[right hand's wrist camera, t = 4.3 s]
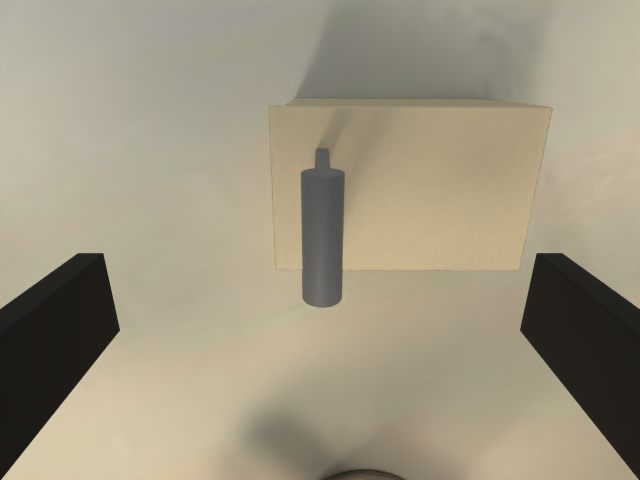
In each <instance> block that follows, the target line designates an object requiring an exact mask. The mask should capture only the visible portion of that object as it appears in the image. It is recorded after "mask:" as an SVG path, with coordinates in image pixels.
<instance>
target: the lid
mask: <svg viewBox="0 0 640 480" xmlns="http://www.w3.org/2000/svg"><path fill="white" fill-rule="evenodd" d="M551 113H552V108H551V107H544V106H270V107H269V125H270V149H271V172H272V196H273V219H274V243H275V266H276V270H302V288H303V300H304V301H305V302H306V303H307V304H309V305H311V306H315V307H330V306H334V305H336V304H338V303H339V302H340V301H341V299H342V270H508V271H518V270H519V269H520V264H521V259H522V254H523V249H524V244H525V239H526V235H527V230H528V225H529V220H530V215H531V210H532V205H533V201H534V196H535V191H536V186H537V181H538V176H539V171H540V167H541V162H542V157H543V152H544V147H545V142H546V137H547V133H548V128H549V123H550V118H551Z"/></svg>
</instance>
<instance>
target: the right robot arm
mask: <svg viewBox="0 0 640 480" xmlns="http://www.w3.org/2000/svg"><path fill="white" fill-rule="evenodd" d="M119 331H120V328H119V323H118V319H117V314H116V310H115V305H114V300H113V296H112V291H111V287H110V282H109V278H108V273H107V268H106V264H105V259H104V255H103V253H78V254H76V255H75V256H73V257H72V258H71V259H69V260H68V261H67V262H65V263H64V264H62V265H61V266H60V267H58V268H57V269H55V270H54V271H53V272H51V273H50V274H49V275H47V276H46V277H44V278H43V279H42V280H40V281H39V282H37V283H36V284H35V285H33V286H32V287H30V288H29V289H28V290H26V291H25V292H24V293H22V294H21V295H19V296H18V297H17V298H15V299H14V300H12V301H11V302H10V303H8V304H7V305H5V306H4V307H3V308H1V309H0V480H1V479H2V478H3V477H4V475H5V474H6V473H7V472H8V470H9V469H10V468H11V467H12V465H13V464H14V463H15V462H16V460H17V459H18V458H19V457H20V455H21V454H22V453H23V452H24V450H25V449H26V448H27V447H28V445H29V444H30V443H31V442H32V440H33V439H34V438H35V436H36V435H37V434H38V433H39V431H40V430H41V429H42V428H43V426H44V425H45V424H46V423H47V421H48V420H49V419H50V418H51V416H52V415H53V414H54V413H55V411H56V410H57V409H58V408H59V406H60V405H61V404H62V403H63V401H64V400H65V399H66V398H67V396H68V395H69V394H70V392H71V391H72V390H73V389H74V387H75V386H76V385H77V384H78V382H79V381H80V380H81V379H82V377H83V376H84V375H85V374H86V372H87V371H88V370H89V369H90V367H91V366H92V365H93V364H94V362H95V361H96V360H97V359H98V357H99V356H100V355H101V354H102V352H103V351H104V350H105V349H106V347H107V346H108V345H109V343H110V342H111V341H112V340H113V338H114V337H115V336H116V335H117V333H118V332H119ZM520 331H521V332H522V333H523V335H524V336H525V337H526V338H527V340H528V341H529V342H530V343H531V345H532V346H533V347H534V349H535V350H536V351H537V352H538V354H539V355H540V356H541V357H542V359H543V360H544V361H545V362H546V364H547V365H548V366H549V367H550V369H551V370H552V371H553V372H554V374H555V375H556V376H557V377H558V379H559V380H560V381H561V382H562V384H563V385H564V386H565V387H566V389H567V390H568V391H569V392H570V394H571V395H572V396H573V398H574V399H575V400H576V401H577V403H578V404H579V405H580V406H581V408H582V409H583V410H584V411H585V413H586V414H587V415H588V416H589V418H590V419H591V420H592V421H593V423H594V424H595V425H596V426H597V428H598V429H599V430H600V431H601V433H602V434H603V435H604V436H605V438H606V439H607V440H608V442H609V443H610V444H611V445H612V447H613V448H614V449H615V450H616V452H617V453H618V454H619V455H620V457H621V458H622V459H623V460H624V462H625V463H626V464H627V465H628V467H629V468H630V469H631V470H632V472H633V473H634V474H635V475H636V477H637V478H638V479H639V480H640V309H639V308H637V307H636V306H635V305H633V304H632V303H630V302H629V301H628V300H626V299H625V298H623V297H622V296H621V295H619V294H618V293H616V292H615V291H614V290H612V289H611V288H610V287H608V286H607V285H605V284H604V283H603V282H601V281H600V280H598V279H597V278H596V277H594V276H593V275H591V274H590V273H589V272H587V271H586V270H585V269H583V268H582V267H580V266H579V265H578V264H576V263H575V262H573V261H572V260H571V259H569V258H568V257H567V256H565V255H564V254H562V253H537V255H536V259H535V264H534V268H533V273H532V278H531V282H530V287H529V291H528V296H527V300H526V305H525V310H524V314H523V319H522V323H521V328H520Z"/></svg>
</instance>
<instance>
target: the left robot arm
mask: <svg viewBox="0 0 640 480" xmlns="http://www.w3.org/2000/svg"><path fill="white" fill-rule="evenodd" d="M326 480H402V479H400V478H398V477H395V476H393V475H390V474H386V473H382V472H376V471H353V472H347V473H342V474H338V475H335V476H333V477H330V478H328V479H326Z"/></svg>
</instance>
